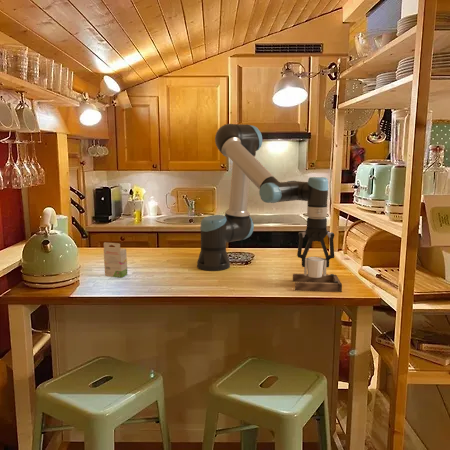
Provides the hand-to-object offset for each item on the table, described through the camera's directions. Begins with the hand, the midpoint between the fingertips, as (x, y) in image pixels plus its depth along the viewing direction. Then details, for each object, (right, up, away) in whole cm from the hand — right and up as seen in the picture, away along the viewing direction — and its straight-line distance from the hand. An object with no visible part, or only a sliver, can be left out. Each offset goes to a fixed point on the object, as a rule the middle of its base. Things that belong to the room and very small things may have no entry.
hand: (314, 274), depth 168 cm
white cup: (0, 0, 0) cm, 1 cm away
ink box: (-82, -2, +15) cm, 84 cm away
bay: (0, -4, +1) cm, 5 cm away
